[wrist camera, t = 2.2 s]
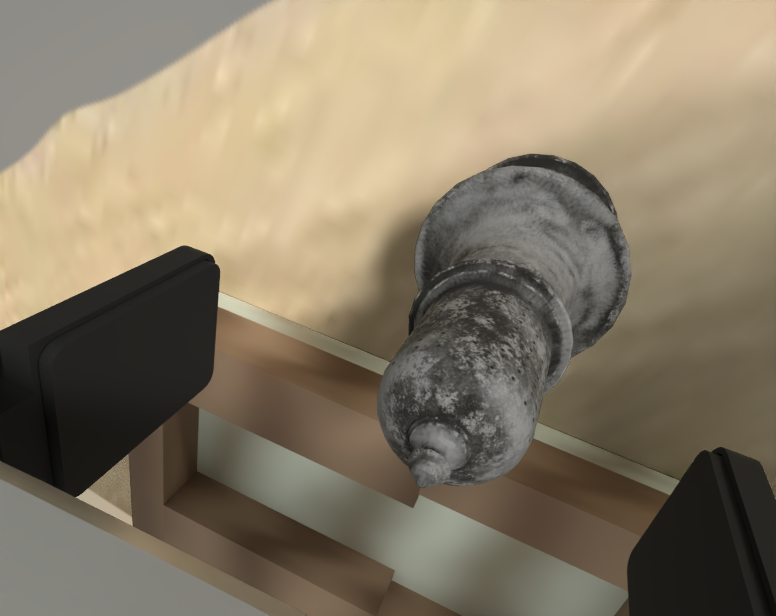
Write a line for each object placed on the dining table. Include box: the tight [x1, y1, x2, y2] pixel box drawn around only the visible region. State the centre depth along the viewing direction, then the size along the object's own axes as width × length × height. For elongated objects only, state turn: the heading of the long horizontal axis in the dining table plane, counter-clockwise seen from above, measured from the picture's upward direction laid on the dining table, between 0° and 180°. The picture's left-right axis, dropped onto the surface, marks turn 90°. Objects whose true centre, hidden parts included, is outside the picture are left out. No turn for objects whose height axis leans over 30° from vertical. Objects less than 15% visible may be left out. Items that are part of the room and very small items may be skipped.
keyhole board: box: [129, 292, 680, 616], centre depth 24 cm, size 24×14×4 cm, turn 77°
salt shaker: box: [377, 154, 631, 488], centre depth 13 cm, size 6×6×12 cm
